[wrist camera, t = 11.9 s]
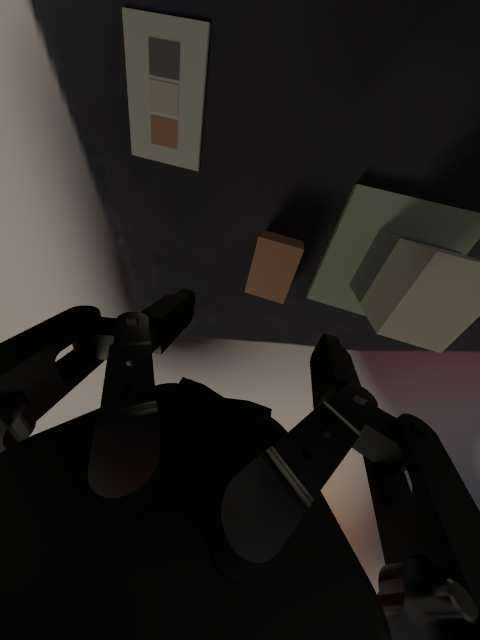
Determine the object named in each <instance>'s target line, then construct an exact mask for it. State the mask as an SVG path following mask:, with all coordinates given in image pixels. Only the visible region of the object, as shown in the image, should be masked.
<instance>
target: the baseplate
mask: <svg viewBox="0 0 480 640" xmlns="http://www.w3.org/2000/svg"><path fill="white" fill-rule="evenodd" d="M400 238H402V239H406V240H409V241H413V242H417V243H421V244H425V245H429V246H433V247H437V248H440V249H444V250H448V251H452V252H456V253H460V254H463V255H466V254H467V253H468V252H469V251H470V250H471V248H472V247H473V246H474V245H475V244H476V242H477V241H478V240H479V239H480V213H477V212H473V211H469V210H464V209H460V208H456V207H452V206H448V205H443V204H439V203H435V202H431V201H427V200H422V199H418V198H414V197H410V196H405V195H401V194H397V193H393V192H389V191H384V190H380V189H376V188H372V187H368V186H363V185H359V184H356V185H354V186H353V189H352V191H351V193H350V196H349V198H348V200H347V203H346V205H345V207H344V209H343V212H342V214H341V216H340V219H339V221H338V223H337V225H336V228H335V230H334V232H333V235H332V237H331V239H330V241H329V244H328V246H327V248H326V251H325V253H324V255H323V257H322V260H321V262H320V264H319V267H318V269H317V271H316V274H315V276H314V278H313V280H312V283H311V285H310V287H309V290H308V292H307V294H306V296H307V298H308V299H311V300H315V301H318V302H321V303H325V304H328V305H331V306H335V307H338V308H341V309H345V310H348V311H351V312H355V313H358V314H361V315H365V313H364V312H363V310H362V308H361V306H360V305H359V304H360V302H361V301H362V299H363V297H364V296H365V294H366V292H367V291H368V289H369V288H370V286H371V284H372V283H373V281H374V280H375V278H376V276H377V275H378V273H379V271H380V270H381V268H382V267H383V265H384V263H385V262H386V260H387V258H388V257H389V255H390V254H391V252H392V250H393V249H394V247H395V245H396V244H397V242H398V241H399V239H400ZM365 316H366V315H365Z"/></svg>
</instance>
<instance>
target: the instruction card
mask: <svg viewBox="0 0 480 640" xmlns="http://www.w3.org/2000/svg"><path fill="white" fill-rule="evenodd" d="M122 15H123V30H124V45H125V59H126V74H127V89H128V104H129V118H130V133H131V148H132V155H135V156H139V157H143V158H147V159H151V160H155V161H159V162H163V163H167V164H171V165H175V166H179V167H183V168H187V169H191V170H195V171H199V165H200V152H201V140H202V127H203V114H204V101H205V89H206V76H207V63H208V50H209V38H210V23H209V22H204V21H199V20H193V19H187V18H181V17H175V16H169V15H164V14H158V13H152V12H146V11H140V10H135V9H129V8H123V7H122Z"/></svg>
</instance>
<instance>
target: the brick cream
mask: <svg viewBox="0 0 480 640" xmlns="http://www.w3.org/2000/svg"><path fill="white" fill-rule="evenodd" d="M359 305H360V306H361V308H362V310H363V312H364V313H365V315H366V317H367V318H368V320H369V322H370V323H371V325H372V327H373V328H374V330H375V332H376V334H379V335H383V336H386V337H389V338H393V339H396V340H399V341H402V342H406V343H409V344H412V345H415V346H419V347H422V348H425V349H428V350H432V351H435V352H438V353H442V352H443V351H444V350H445V349H446V348H447V347H448V346H449V345H450V344H451V343H452V342H453V341H454V340H455V339H456V338H457V337H458V336H459V335H460V334H461V333H462V332H463V331H464V330H466V329H467V328H468V327H469V326H470V325H471V324H472V323H473V322H474V321H475V320H476V319H477V318H478V317H479V316H480V260H479V259H476V258H473V257H469V256H466V255H463V254H460V253H456V252H452V251H448V250H444V249H440V248H437V247H433V246H429V245H425V244H421V243H417V242H413V241H409V240H406V239H402V238H400V239H399V241H398V242H397V244H396V245H395V247H394V249H393V250H392V252H391V254H390V255H389V257H388V258H387V260H386V262H385V263H384V265H383V267H382V268H381V270H380V271H379V273H378V275H377V276H376V278H375V280H374V281H373V283H372V284H371V286H370V288H369V289H368V291H367V292H366V294H365V296H364V297H363V299H362V301H361V302H360V304H359Z"/></svg>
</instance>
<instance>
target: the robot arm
mask: <svg viewBox="0 0 480 640" xmlns="http://www.w3.org/2000/svg"><path fill="white" fill-rule="evenodd" d="M194 305H195V292H193V291H189V290H186V289H181V290H180V291H178V292H177V293H176V294H169V295H166V296H164V297H162V298H161V299H160V300H158V301H156V302H155V303H154V304H152V305H151V306H149V307H148V308H146V309H145V310H143V311H142V312H127V313H123V314H121V315H119V316H118V317H117V318H108V317H101V314H100V310H99V309H98V308H96V307H93V306H76V307H72V308H70V309H68V310H66V311H64V312H62V313H60V314H58V315H56V316H54V317H52V318H50V319H48V320H46V321H44V322H42V323H40V324H38V325H36V326H34V327H32V328H30V329H28V330H26V331H24V332H22V333H20V334H18V335H16V336H14V337H12V338H10V339H8V340H6V341H4V342H2V343H0V640H480V511H479V510H478V508H477V506H476V504H475V502H474V501H473V499H472V497H471V495H470V494H469V492H468V490H467V488H466V487H465V484H464V483H463V481H462V479H461V477H460V475H459V473H458V472H457V470H456V468H455V466H454V465H453V463H452V461H451V459H450V457H449V456H448V454H447V452H446V450H445V448H444V447H443V445H442V443H441V441H440V439H439V437H438V436H437V434H436V433H435V432H434V431H433V429H431V428H430V426H428V425H427V424H426V423H425V422H423V421H422V420H421V419H419V418H417V417H415V416H413V415H411V414H402V415H400V416H399V417H398V418H395V417H393V416H392V415H390V414H388V413H386V412H385V411H383V410H381V409H380V408H378V404H377V401H376V399H375V398H374V396H373V395H372V394H371V393H370V392H369V391H368V390H366V389H365V388H363V387H361V384H360V382H359V379H358V376H357V373H356V370H355V369H354V368H355V367H354V364H353V363H352V359H351V356H350V354H349V353H348V352H347V351H346V349H345V348H342V347H341V345H340V342H339V339H338V337H335V336H332V335H329V334H326V333H324V334H323V335H322V336H321V338H320V340H319V342H318V344H317V346H316V347H315V349H314V351H313V353H312V355H311V359H310V369H311V380H312V393H313V406H314V410H313V411H312V412H311V413H310V414H309V415H308V416H307V417H305V418H304V419H303V420H302V421H301V422H300V423H298V424H297V425H296V426H295V427H294V428H293V429H292V430H290V431H289V432H287V431H286V430H285V429H284V428H283V427H282V426H281V425H280V424H279V423H278V422H277V421H276V420H274V419H273V418H271V410H272V409H270V408H267V407H265V406H262V405H259V404H256V403H253V402H251V401H246V400H238V399H229V398H224V397H222V396H221V395H219V394H218V393H216V392H214V391H213V390H211V389H210V388H208V387H207V386H205V385H204V384H201V383H198V382H195V381H192V380H190V379H187V378H184V377H183V378H182V379H181V381H180V382H179V384H178V383H166V384H160V385H156V386H155V382H154V371H153V360H152V353H153V352H155V353H157V354H162V353H163V352H164V351H165V350H166V349H167V348H168V346H169V345H170V344H171V343H172V342H173V341H174V340H175V339H176V338H177V337H178V335H179V334H180V333H181V332H182V331H183V330H184V329H185V328H186V327H187V326H188V325H189V323H190V322H191V320H192V318H193V314H194ZM71 344H72V345H73V348H74V350H72V351H71V352H69V353H68V354H66V355H65V356H64V357H62V358H61V359H59V360H58V361H57V362H55V359H56V356H57V355H58V354H59V352H60V351H62V350H63V349H65V348H66V347H68V346H69V345H71ZM105 360H107V364H106V371H105V379H104V386H103V392H102V399H101V407H100V408H99V409H96V410H94V411H92V412H89V413H87V414H84V415H82V416H79V417H77V418H74V419H72V420H70V421H67V422H65V423H62V424H60V425H58V426H55V427H52V428H50V429H48V430H45V431H43V432H40V433H38V434H35V435H33V436H31V437H29V436H30V434H31V433H32V432H33V430H34V428H35V425H36V421H37V420H38V419H39V418H41V417H42V416H43V415H44V414H45V413H46V412H47V411H48V410H49V409H51V408H52V407H53V406H54V405H55V404H56V403H57V402H59V401H60V400H61V399H62V398H63V397H64V396H65V395H66V394H68V393H69V392H70V391H71V390H72V389H73V388H74V387H75V386H76V385H78V384H79V383H80V382H81V381H82V380H83V379H84V378H85V377H87V376H88V375H89V374H90V373H91V372H92V371H93V370H94V369H96V368H97V367H98V366H99V365H100V364H101V363H102V362H104V361H105ZM351 448H353V449H355V450H356V451H358V452H359V453H361V454H362V455H363V458H364V463H365V468H366V473H367V477H368V482H369V487H370V492H371V496H372V501H373V506H374V511H375V516H376V521H377V526H378V531H379V535H380V540H381V545H382V550H383V554H384V560H385V566H383V567H382V568H381V570H380V573H379V578H378V579H379V580H378V585H379V592H378V595H377V594H376V592H375V590H374V588H373V586H372V584H371V582H370V580H369V578H368V576H367V575H366V573H365V571H364V569H363V567H362V566H361V564H360V562H359V560H358V558H357V556H356V555H355V553H354V551H353V549H352V547H351V545H350V544H349V542H348V540H347V538H346V536H345V535H344V533H343V531H342V529H341V528H340V525H339V524H338V522H337V520H336V518H335V516H334V514H333V513H332V511H331V509H330V507H329V505H328V504H327V502H326V500H325V498H324V496H323V494H322V493H321V491H320V490H321V489H322V488H323V486H324V485H325V483H326V482H327V481H328V479H329V478H330V477H331V475H332V474H333V472H334V471H335V469H336V468H337V467H338V466H339V464H340V463H341V461H342V460H343V459H344V457H345V456H346V454H347V453H348V451H349V450H350V449H351ZM406 470H407V471H408V474H409V476H410V479H411V482H412V487H413V488H412V493H411V490H410V487H409V484H408V481H407V479H406V476H405V473H404V471H406Z"/></svg>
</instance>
